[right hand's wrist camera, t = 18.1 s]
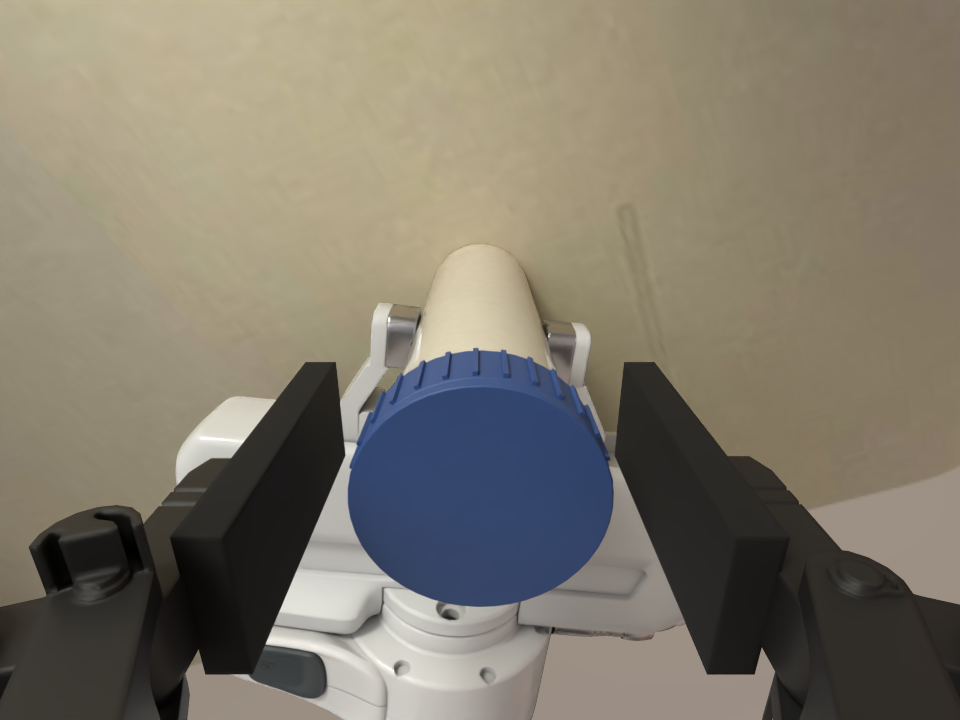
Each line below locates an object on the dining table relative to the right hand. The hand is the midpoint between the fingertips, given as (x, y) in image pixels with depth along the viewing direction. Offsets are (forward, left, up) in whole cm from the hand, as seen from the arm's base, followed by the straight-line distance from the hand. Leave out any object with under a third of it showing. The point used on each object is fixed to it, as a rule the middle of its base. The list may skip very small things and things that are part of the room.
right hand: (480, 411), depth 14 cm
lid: (0, 0, +4) cm, 4 cm away
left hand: (0, +1, -5) cm, 5 cm away
